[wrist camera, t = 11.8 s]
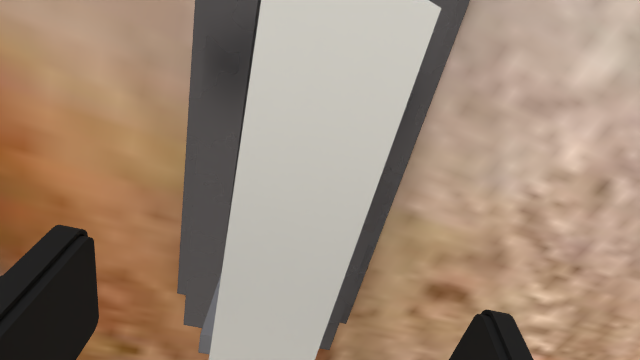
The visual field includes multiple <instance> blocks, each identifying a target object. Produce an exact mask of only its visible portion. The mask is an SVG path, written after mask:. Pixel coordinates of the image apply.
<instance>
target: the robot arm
mask: <svg viewBox="0 0 640 360" xmlns="http://www.w3.org/2000/svg"><path fill="white" fill-rule="evenodd" d="M98 319H99V312H98V296H97V281H96V265H95V249H94V240H93V238H90V237H88V235H87V232H86V230H83V229H78V228H73V227H68V226H63V225H57V226H55V227H53V228H52V229H51V230H50V231H49V232H48V233H47V234H46V235H45V236H44V237H43V238H42V239H41V240H40V241H39V242H38V243H36V244H35V245H34V246H33V247H32V248H31V249H30V250H29V251H28V252H27V253H26V254H25V255H24V256H23V257H22V258H21V259H20V260H19V261H18V262H17V263H16V264H15V265H14V266H12V267H11V268H10V269H9V270H8V271H7V272H6V273H5V274H4V275H2V276H0V360H76V359H77V357H78V356H79V354H80V353H81V351H82V349H83V348H84V346H85V345H86V343H87V342H88V340H89V339H90V337H91V336H92V334H93V332H94V331H95V328H96V326H97V323H98ZM449 360H533V358H532V356H531V354H530V352H529V349H528V347H527V345H526V343H525V341H524V339H523V337H522V335H521V333H520V331H519V329H518V327H517V325H516V322H515V320H514V319H513V317H512V316H511V315H510V314H507V313H502V312H496V311H491V310H484V311H483V312H482V313H481V314H477V315H475V317H474V318H473V320H472V322H471V323H470V325H469V327H468V328H467V330H466V332H465V333H464V335H463V337H462V338H461V340H460V342H459V344H458V345H457V347H456V349H455V350H454V352H453V354H452V355H451V357H450V359H449Z"/></svg>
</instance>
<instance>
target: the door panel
mask: <svg viewBox="0 0 640 360" xmlns="http://www.w3.org/2000/svg"><path fill="white" fill-rule="evenodd" d="M440 11H441V8H440V7H439V6H437V5H436V4H434V3H432V2H431V1H429V0H261V5H260V12H259V19H258V26H257V33H256V40H255V47H254V53H253V60H252V67H251V74H250V81H249V88H248V95H247V102H246V108H245V115H244V122H243V129H242V136H241V143H240V150H239V156H238V163H237V170H236V177H235V184H234V191H233V198H232V205H231V211H230V218H229V225H228V232H227V239H226V246H225V253H224V259H223V266H222V272H221V275H220V278H219V281H218V284H217V287H216V290H215V293H214V296H213V299H212V302H211V305H210V308H209V311H208V313H207V316H206V319H205V322H204V325H203V328H202V331H201V334H200V342H199V351H198V352H199V353H205V354H210V356H209V360H315V358H316V355H317V352H318V349H319V346H320V344H321V341H322V338H323V335H324V333H325V330H326V327H327V324H328V322H329V319H330V316H331V313H332V310H333V308H334V305H335V302H336V299H337V297H338V294H339V291H340V288H341V285H342V283H343V280H344V277H345V274H346V272H347V269H348V266H349V263H350V260H351V258H352V255H353V252H354V249H355V247H356V244H357V241H358V238H359V235H360V233H361V230H362V227H363V224H364V222H365V219H366V216H367V213H368V210H369V208H370V205H371V202H372V199H373V197H374V194H375V191H376V188H377V185H378V183H379V180H380V177H381V174H382V172H383V169H384V166H385V163H386V160H387V158H388V155H389V152H390V149H391V147H392V144H393V141H394V138H395V135H396V133H397V130H398V127H399V124H400V122H401V119H402V116H403V113H404V110H405V108H406V105H407V102H408V99H409V97H410V94H411V91H412V88H413V85H414V83H415V80H416V77H417V74H418V72H419V69H420V66H421V63H422V60H423V58H424V55H425V52H426V49H427V47H428V44H429V41H430V38H431V35H432V33H433V30H434V27H435V24H436V22H437V19H438V16H439V13H440Z"/></svg>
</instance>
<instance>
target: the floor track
mask: <svg viewBox="0 0 640 360" xmlns="http://www.w3.org/2000/svg"><path fill="white" fill-rule="evenodd" d="M429 1H431V2H432V3H434V4H436V5H437V6H439V7H440V8H441V11H440V13H439V16H438V19H437V22H436V24H435V27H434V30H433V33H432V35H431V38H430V41H429V44H428V47H427V49H426V52H425V55H424V58H423V60H422V63H421V66H420V69H419V72H418V74H417V77H416V80H415V83H414V85H413V88H412V91H411V94H410V97H409V99H408V102H407V105H406V108H405V110H404V113H403V116H402V119H401V122H400V124H399V127H398V130H397V133H396V135H395V138H394V141H393V144H392V147H391V149H390V152H389V155H388V158H387V160H386V163H385V166H384V169H383V172H382V174H381V177H380V180H379V183H378V185H377V188H376V191H375V194H374V197H373V199H372V202H371V205H370V208H369V210H368V213H367V216H366V219H365V222H364V224H363V227H362V230H361V233H360V235H359V238H358V241H357V244H356V247H355V249H354V252H353V255H352V258H351V260H350V263H349V266H348V269H347V272H346V274H345V277H344V280H343V283H342V285H341V288H340V291H339V294H338V297H337V299H336V302H335V305H334V308H333V310H332V313H331V316H330V319H329V322H328V324H327V327H326V330H325V333H324V335H323V338H322V341H321V344H320V346H319V348H321V349H326V350H330V347H331V344H332V341H333V339H334V336H335V333H336V331H337V328H338V325H339V323H345V324H346V322H347V320H348V317H349V315H350V312H351V309H352V307H353V304H354V302H355V299H356V296H357V294H358V291H359V289H360V286H361V283H362V281H363V278H364V275H365V273H366V270H367V268H368V265H369V262H370V260H371V257H372V255H373V252H374V249H375V247H376V244H377V242H378V239H379V236H380V234H381V231H382V228H383V226H384V223H385V221H386V218H387V215H388V213H389V210H390V208H391V205H392V202H393V200H394V197H395V195H396V192H397V189H398V187H399V184H400V181H401V179H402V176H403V174H404V171H405V168H406V166H407V163H408V161H409V158H410V155H411V153H412V150H413V148H414V145H415V142H416V140H417V137H418V134H419V132H420V129H421V127H422V124H423V121H424V119H425V116H426V114H427V111H428V108H429V106H430V103H431V101H432V98H433V95H434V93H435V90H436V87H437V85H438V82H439V80H440V77H441V74H442V72H443V69H444V67H445V64H446V61H447V59H448V56H449V54H450V51H451V48H452V46H453V43H454V40H455V38H456V35H457V33H458V30H459V27H460V25H461V22H462V20H463V17H464V14H465V12H466V9H467V7H468V4H469V1H470V0H429ZM260 5H261V0H195V13H194V29H193V45H192V62H191V78H190V94H189V111H188V127H187V143H186V160H185V176H184V193H183V209H182V225H181V242H180V258H179V274H178V291H177V293H178V294H184V295H186V300H185V313H184V325H188V326H194V327H199V328H203V325H204V322H205V319H206V316H207V313H208V311H209V308H210V305H211V302H212V299H213V296H214V293H215V290H216V287H217V284H218V281H219V278H220V275H221V272H222V266H223V259H224V253H225V246H226V239H227V232H228V225H229V218H230V211H231V205H232V198H233V191H234V184H235V177H236V170H237V163H238V156H239V150H240V143H241V136H242V129H243V122H244V115H245V108H246V102H247V95H248V88H249V81H250V74H251V67H252V60H253V53H254V47H255V40H256V33H257V26H258V19H259V12H260Z"/></svg>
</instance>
